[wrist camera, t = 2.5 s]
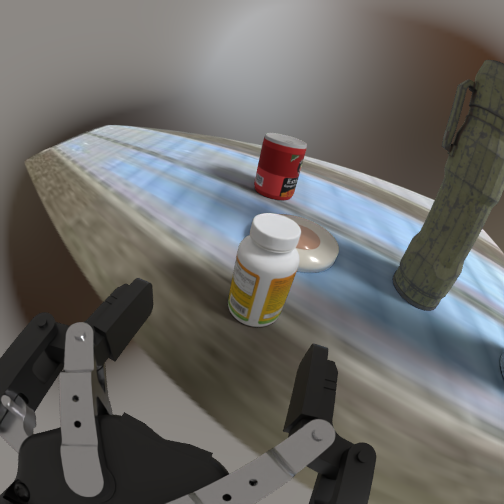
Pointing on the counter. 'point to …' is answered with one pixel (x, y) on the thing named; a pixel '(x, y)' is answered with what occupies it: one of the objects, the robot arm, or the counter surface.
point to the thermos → (459, 192)
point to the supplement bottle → (264, 270)
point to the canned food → (279, 166)
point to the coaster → (314, 246)
